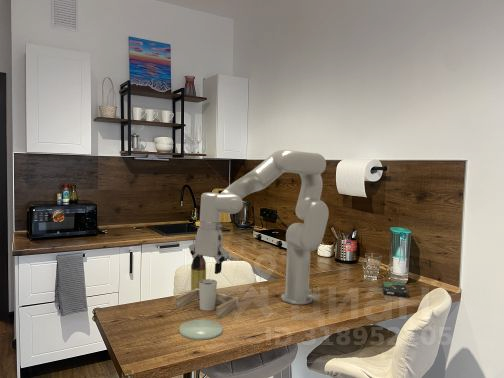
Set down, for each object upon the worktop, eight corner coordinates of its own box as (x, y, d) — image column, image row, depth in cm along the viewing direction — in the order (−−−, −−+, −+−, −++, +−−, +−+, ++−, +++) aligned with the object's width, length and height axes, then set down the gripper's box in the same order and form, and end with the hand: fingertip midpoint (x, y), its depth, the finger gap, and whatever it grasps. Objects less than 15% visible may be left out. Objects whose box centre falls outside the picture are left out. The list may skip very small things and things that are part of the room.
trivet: (230, 327, 135) (230, 325, 134) (206, 343, 122) (206, 341, 122) (196, 318, 141) (196, 316, 141) (170, 332, 129) (170, 330, 129)
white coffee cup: (212, 311, 148) (213, 285, 147) (195, 309, 150) (196, 283, 149) (218, 305, 155) (219, 280, 154) (202, 303, 156) (203, 278, 156)
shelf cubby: (237, 307, 153) (238, 297, 153) (218, 319, 142) (219, 308, 141) (196, 298, 162) (196, 288, 162) (175, 307, 151) (175, 297, 150)
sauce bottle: (198, 289, 173) (200, 243, 172) (208, 292, 169) (210, 246, 168) (187, 292, 168) (188, 245, 167) (197, 296, 164) (198, 248, 163)
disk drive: (408, 299, 173) (405, 288, 187) (408, 293, 173) (405, 283, 187) (383, 296, 176) (381, 286, 190) (383, 290, 175) (382, 280, 190)
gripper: (234, 227, 149) (231, 272, 150) (196, 222, 157) (194, 265, 158) (223, 229, 143) (220, 277, 144) (184, 223, 151) (182, 268, 152)
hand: (206, 270), depth 151 cm, fingers open, 9 cm apart
